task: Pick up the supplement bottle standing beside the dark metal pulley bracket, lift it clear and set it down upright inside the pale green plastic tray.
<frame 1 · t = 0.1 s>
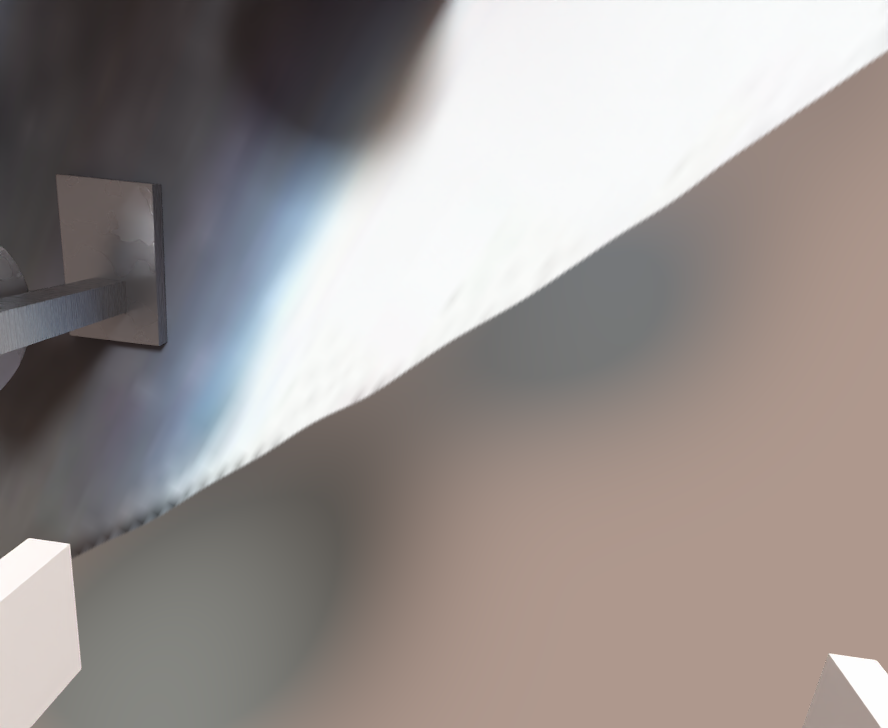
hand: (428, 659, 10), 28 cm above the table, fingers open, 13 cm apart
pulley bracket: (118, 261, 38), on the table
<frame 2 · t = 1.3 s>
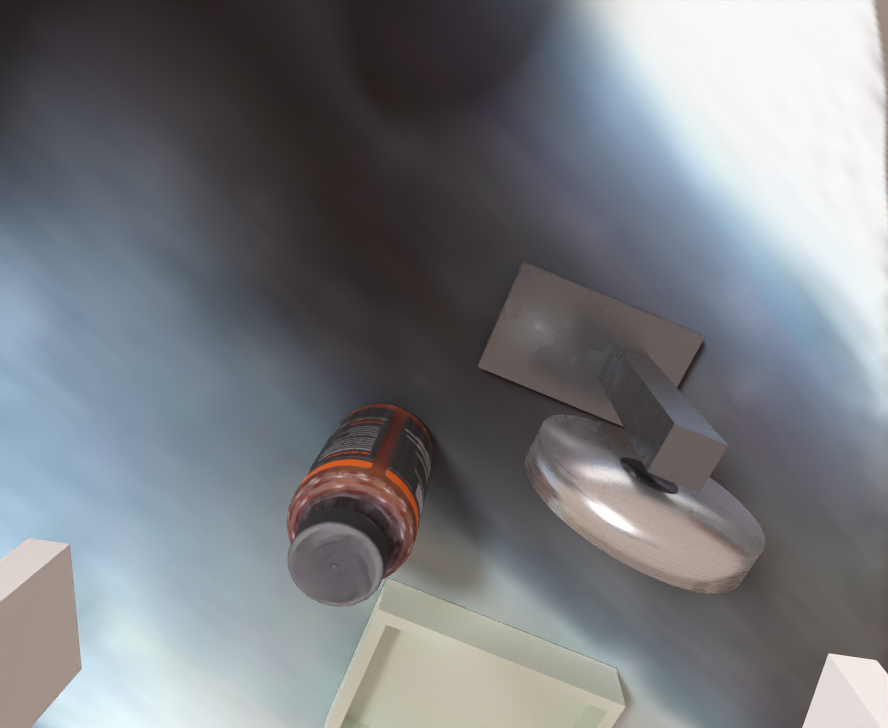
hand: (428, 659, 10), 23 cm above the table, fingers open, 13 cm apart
pulley bracket: (585, 347, 32), on the table
supplement bottle: (384, 446, 35), on the table
tray: (467, 689, 39), on the table
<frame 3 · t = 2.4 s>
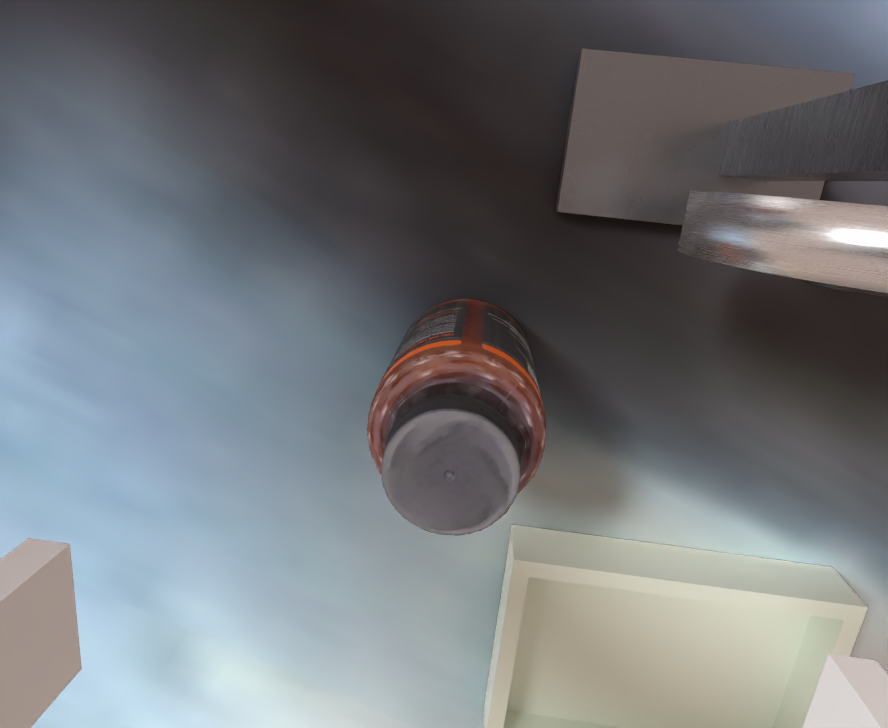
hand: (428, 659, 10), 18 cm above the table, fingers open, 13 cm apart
pulley bracket: (690, 147, 24), on the table
supplement bottle: (466, 358, 28), on the table
tray: (646, 641, 31), on the table
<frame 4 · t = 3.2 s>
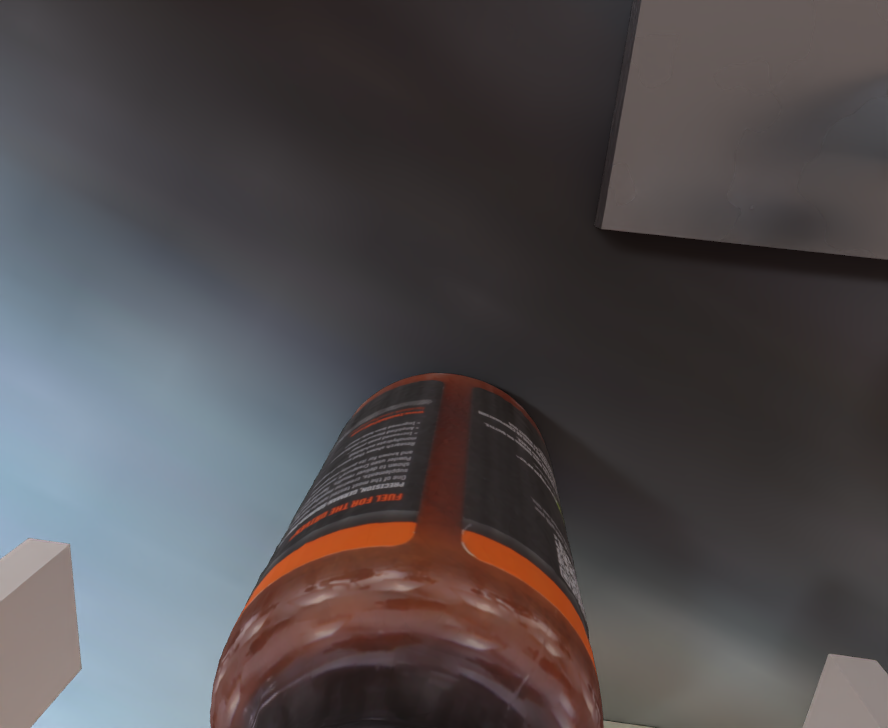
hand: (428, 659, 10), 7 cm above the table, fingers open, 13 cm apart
pulley bracket: (839, 114, 14), on the table
supplement bottle: (444, 463, 17), on the table
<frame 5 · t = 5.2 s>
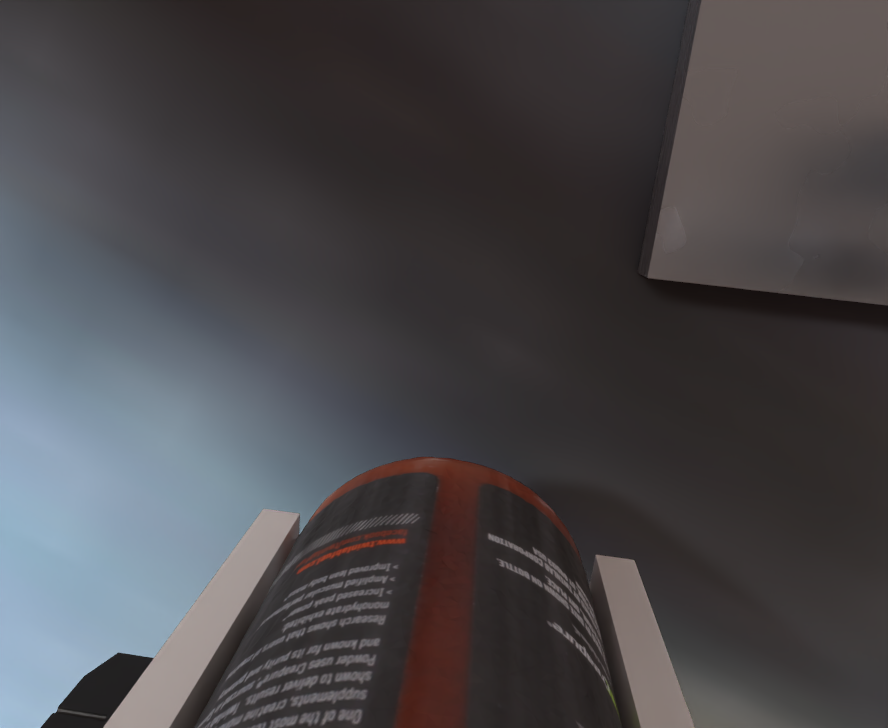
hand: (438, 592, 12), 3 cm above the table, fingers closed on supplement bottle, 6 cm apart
supplement bottle: (441, 569, 13), point 3 cm above the table, touching gripper
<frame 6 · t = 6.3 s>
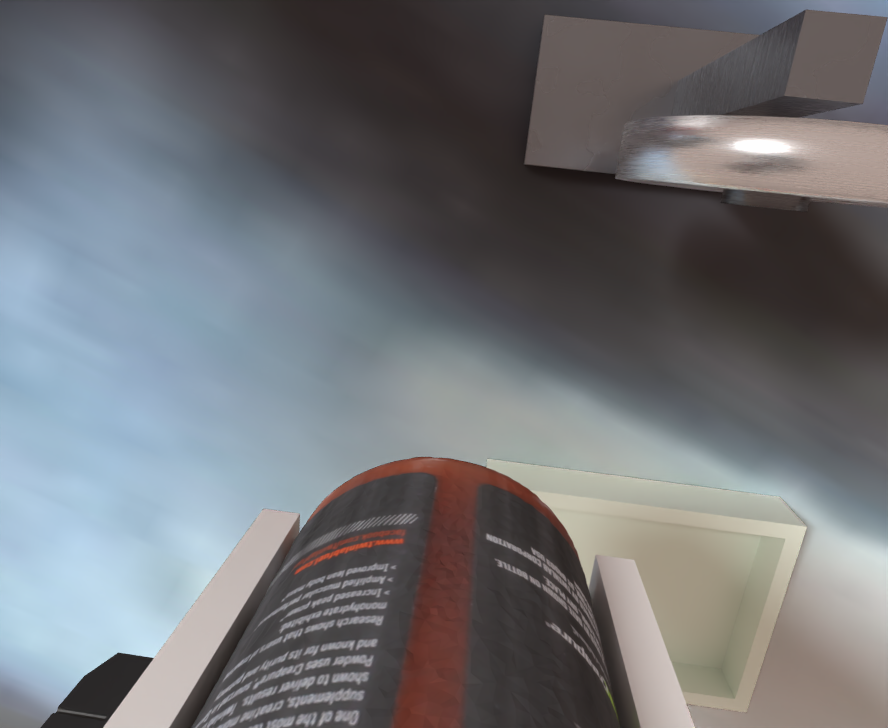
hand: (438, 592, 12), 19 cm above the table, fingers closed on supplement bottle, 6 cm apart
pulley bracket: (644, 106, 27), on the table
supplement bottle: (440, 569, 13), point 19 cm above the table, touching gripper
tray: (611, 569, 34), on the table
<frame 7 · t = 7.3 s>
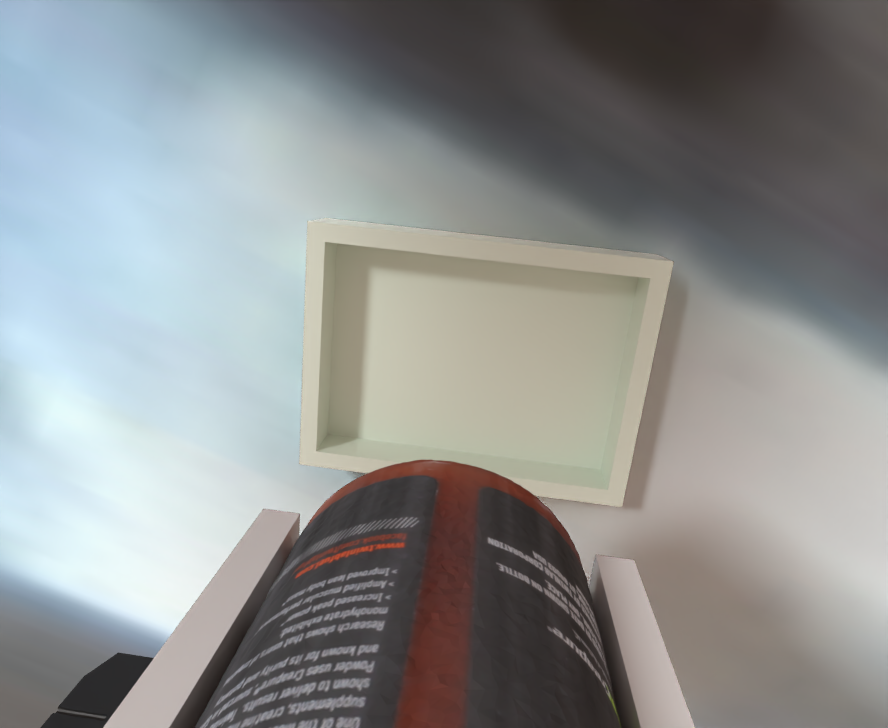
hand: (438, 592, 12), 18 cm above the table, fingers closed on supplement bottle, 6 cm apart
supplement bottle: (441, 572, 13), point 18 cm above the table, touching gripper
tray: (474, 353, 30), on the table
when the fingers open (3 cm above the table, at t = 10.8 s): supplement bottle drops 2 cm, resting on tray.
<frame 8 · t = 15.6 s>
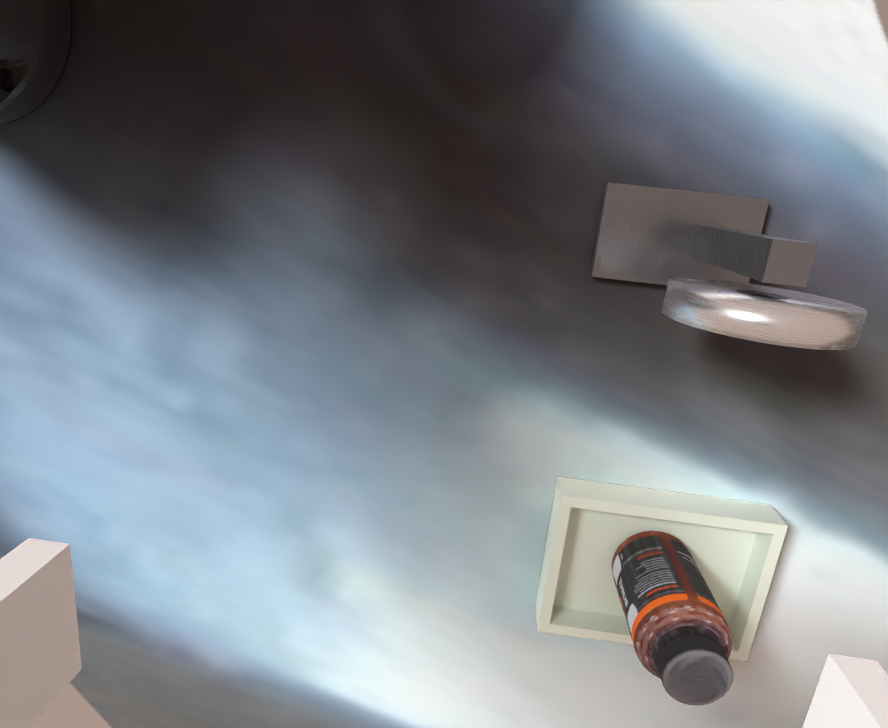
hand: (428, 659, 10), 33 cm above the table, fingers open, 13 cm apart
pulley bracket: (673, 237, 39), on the table
supplement bottle: (649, 560, 45), point 1 cm above the table, touching tray
tray: (647, 557, 46), on the table
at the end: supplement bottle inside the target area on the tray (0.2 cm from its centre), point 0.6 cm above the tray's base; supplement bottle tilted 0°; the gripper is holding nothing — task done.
